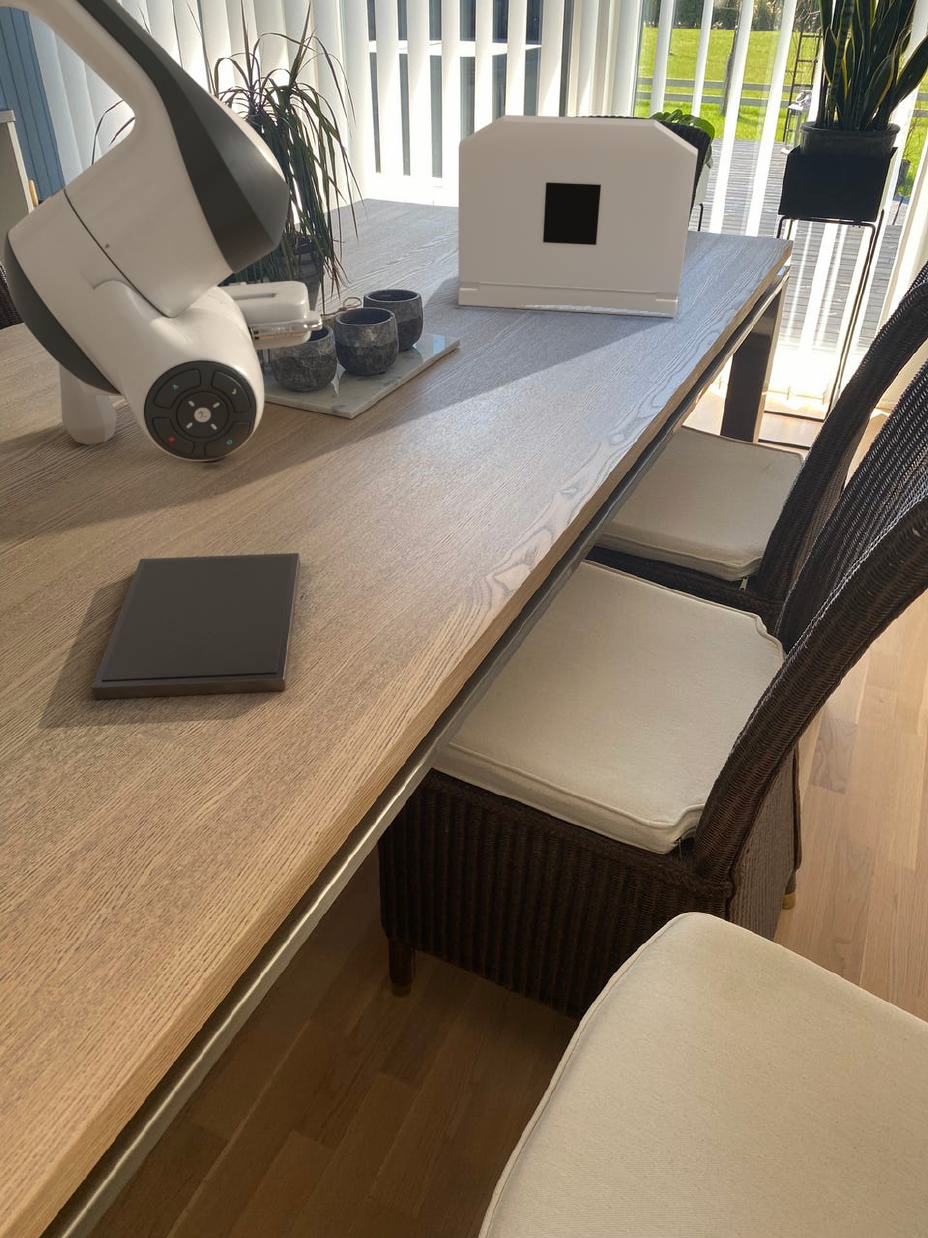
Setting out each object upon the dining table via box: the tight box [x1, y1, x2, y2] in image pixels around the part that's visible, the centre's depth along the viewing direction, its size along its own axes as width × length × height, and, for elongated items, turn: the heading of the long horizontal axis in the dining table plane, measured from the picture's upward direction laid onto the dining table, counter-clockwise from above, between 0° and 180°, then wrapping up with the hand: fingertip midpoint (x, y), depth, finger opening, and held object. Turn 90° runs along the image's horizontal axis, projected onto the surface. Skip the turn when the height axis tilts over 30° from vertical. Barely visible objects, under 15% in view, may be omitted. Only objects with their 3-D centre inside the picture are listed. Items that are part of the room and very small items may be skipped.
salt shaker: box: [58, 362, 118, 446], centre depth 104 cm, size 6×6×13 cm
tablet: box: [91, 552, 301, 700], centre depth 77 cm, size 14×18×1 cm
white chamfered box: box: [458, 114, 699, 318], centre depth 147 cm, size 33×24×26 cm
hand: (183, 296), depth 83 cm, fingers open, 8 cm apart
